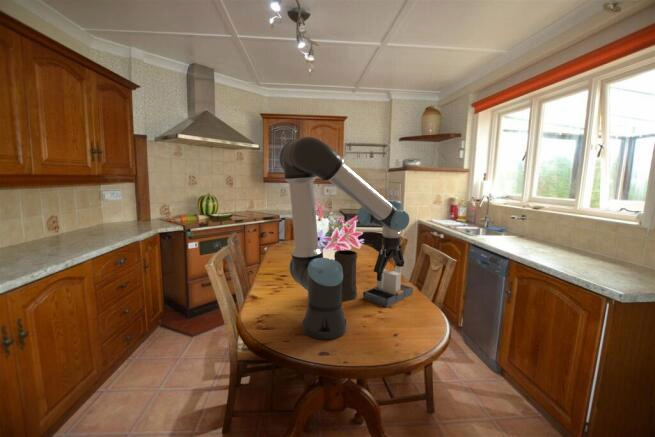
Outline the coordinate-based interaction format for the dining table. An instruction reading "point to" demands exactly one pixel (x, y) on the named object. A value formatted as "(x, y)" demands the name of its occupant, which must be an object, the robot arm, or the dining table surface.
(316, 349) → the dining table surface
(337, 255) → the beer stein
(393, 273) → the white rectangular block
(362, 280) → the dining table surface
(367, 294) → the dark grey compartment tray
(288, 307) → the dining table surface
